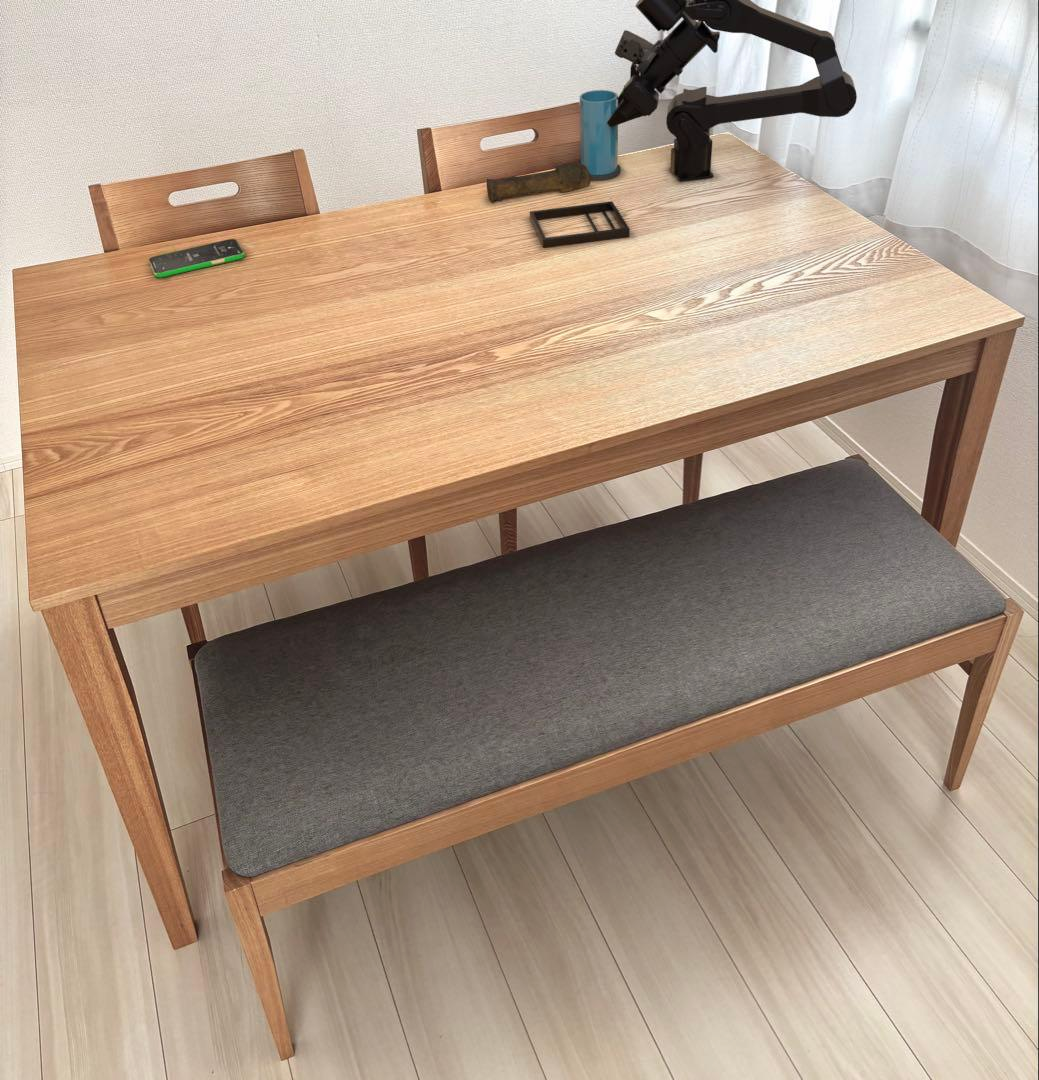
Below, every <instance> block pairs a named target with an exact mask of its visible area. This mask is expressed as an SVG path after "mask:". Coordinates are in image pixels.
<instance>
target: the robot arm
mask: <svg viewBox="0 0 1039 1080" xmlns="http://www.w3.org/2000/svg"><path fill="white" fill-rule="evenodd" d="M635 8H636V9H637V10H638V11H639V12H640V13H641V15H642V16H644V18H645V19H647V21H648V22H649V23H650V24H651V25H652V27H654V29H655V30H656V31H657V32H660V31H662V32H669V31H670V33H668V35H667V36H666V37H664V39H663V38H661V39H658V40H657V41H656V42H655V43H652V42H651V41H648V39H646V38H644V37H642V36H639V35H637V34H635V33H634V32H632V31H629V30H626V29H625V30H623V32H622V35H621V37H620V39H619V40H618V43H617V45H616V48H615V51H614V55H615V56H617V58H620V59H625V60H627V61H628V62H631V65H630V78H629V79H628V81H626V83H625V84H624V86H623V88H622V90H621V92H620V94H619V95H618V107H617V109H616V110H615V112H614V113H613V114H612V116H611V117H610V119H609V120H608V122H607V124H608V125H609V126H610V127H614V126H616V125H618V126H619V125H621V124H624V123H626V122H627V123H628V122H629V121H632V120H636V119H638V118H639V119H640V118H643V117H647V116H648V117H650V116H651V115H652V114H653V113H654V112H656V110H657V109H658V105H659V100H660V98H659V97H660V94H662V93H663V92H664V91H665V90H666V86H667V85H668V84H669V83H670V82H671V81H672V80H673V79H674V78H676V76H677V77H679V76H680V75H681V74H683V71H684V68H686V66H687V65H688V64H689V63H690V62H692V60H693V59H694V58H695V57H696V56H697V55H699V53H701V51H703V49H705V47H706V46H707V47H708V48H709V49H710V50H711V51H712V52H713V53H714V54H716V53H718V52H719V51H718V50H719V40H720V36H721V32H724V33H730V34H746V35H747V34H748V35H751V36H755V37H758V38H760V39H763V40H765V41H768V42H770V43H772V44H776V45H779V46H781V47H784V48H786V49H788V50H791V51H794V52H797V53H799V54H802V55H804V56H807V57H810V58H812V59H813V60H814V63H815V66H816V69H817V72H818V75H819V76H815V77H813V78H812V79H809V80H807V81H806V82H803V83H802V84H799V85H798V84H797V85H794V86H792V85H791V86H786V87H780V88H779V87H778V88H772V89H765V90H758V91H750V92H745V93H743V92H742V93H736V94H731V95H722V96H715V95H710V94H707V90H708V89H707V86H701V87H698V88H693V89H687V88H683V91H682V92H681V93H678V94H676V95H674V96H673V97H672V98H671V100H670V101H669V103H668V106H667V112H666V119H665V120H666V123H665V124H666V129H667V130H668V131H669V133H670V134H671V135H672V136H674V137H675V138H674V139H673V147H671V148H670V161H669V162H670V166H669V170H670V172H671V173H672V174H673V175H674V177H675V178H676V179H677V181H679V182H687V181H696V180H697V181H698V180H704V179H711V178H714V175H715V174H714V173H713V172H712V170H711V169H712V155H713V139H712V138H711V129H712V128H714V127H717V126H718V125H722V124H729V123H736V122H742V121H750V120H758V119H766V118H773V117H780V116H788V115H794V114H795V115H796V114H805V115H806V114H807V115H810V116H816V117H820V118H821V117H822V118H823V117H824V118H841V117H845V116H846V115H848V114H849V113H850V112H851V111H852V110H853V109H854V107H855V106H856V104H857V99H858V96H857V90H856V87H855V86H856V85H855V82H854V80H853V78H852V76H851V75H850V74H848V72H847V71H844V70H843V67H842V64H841V62H840V57H839V55H838V52H837V50H836V47H837V46H836V42H835V38H834V36H833V34H832V32H829V31H828V30H821V29H818V28H815V27H813V26H810V25H808V24H805V23H803V22H800V21H798V20H794V19H792V18H791V17H790V18H789V17H787V16H785V15H782V14H779V13H777V12H774V11H771V10H768V9H766V8H763V7H761V6H759V5H758V4H756V3H755V2H754V1H752V0H638V1H637V2H636V4H635ZM681 19H682V20H681ZM680 20H681V21H680ZM679 21H680V22H679ZM678 22H679V23H678ZM677 23H678V24H677ZM676 24H677V25H676ZM675 25H676V26H675ZM674 26H675V27H674ZM671 29H672V30H671ZM713 30H714V31H713ZM659 93H660V94H659Z"/></svg>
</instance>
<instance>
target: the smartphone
mask: <svg viewBox="0 0 1039 1080" xmlns="http://www.w3.org/2000/svg"><path fill="white" fill-rule="evenodd" d="M245 256H246V254H245V252H244V250H243V249H242V247H241V245H240V243H239V242H238V240H237V239H235V238H228V239H224V240H220V241H214V242H211V243H208V244H203V245H198V246H193V247H189V248H185V249H180V250H175V251H172V252H171V251H170V252H166V253H163V254H157V255H155V256H152V257H149V259H148V263H149V267H150V268H151V271H152V274H153V275H154V277H155V278H158V279H160V278H166V277H170V276H174V275H178V274H182V273H187V272H192V271H195V270H199V269H205V268H209V267H213V266H218V265H222V264H226V263H230V262H235V261H238V260H242V259H243V258H245Z"/></svg>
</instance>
